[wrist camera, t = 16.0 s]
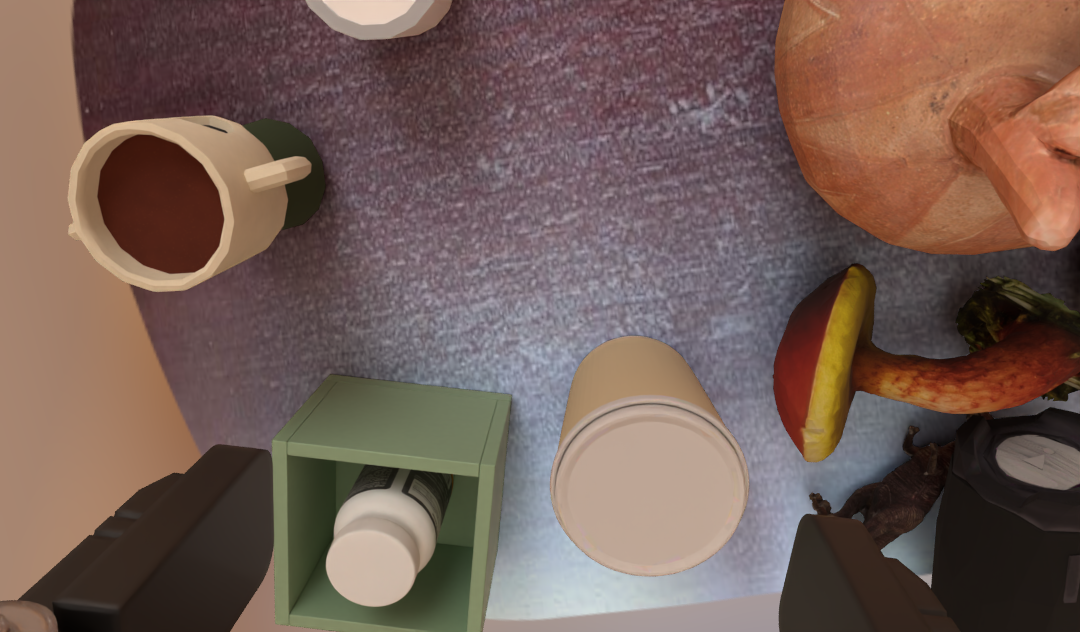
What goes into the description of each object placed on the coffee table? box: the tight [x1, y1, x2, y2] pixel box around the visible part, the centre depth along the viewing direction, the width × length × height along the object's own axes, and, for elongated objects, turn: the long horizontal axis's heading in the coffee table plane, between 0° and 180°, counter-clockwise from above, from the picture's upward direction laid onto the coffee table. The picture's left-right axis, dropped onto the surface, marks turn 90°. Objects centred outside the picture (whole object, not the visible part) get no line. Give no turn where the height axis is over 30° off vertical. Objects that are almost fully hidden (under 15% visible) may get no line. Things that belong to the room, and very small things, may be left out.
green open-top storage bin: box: [272, 374, 512, 632], centre depth 43 cm, size 12×12×9 cm
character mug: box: [68, 116, 326, 292], centre depth 36 cm, size 11×7×13 cm, turn 105°
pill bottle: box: [326, 464, 454, 607], centre depth 41 cm, size 6×6×10 cm
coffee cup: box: [550, 336, 749, 576], centre depth 39 cm, size 9×9×12 cm
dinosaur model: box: [809, 412, 994, 550], centre depth 45 cm, size 4×12×15 cm
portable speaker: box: [931, 407, 1080, 632], centre depth 41 cm, size 9×9×20 cm
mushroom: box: [773, 263, 1080, 462], centre depth 37 cm, size 12×12×15 cm
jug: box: [775, 0, 1080, 255], centre depth 28 cm, size 18×18×20 cm
